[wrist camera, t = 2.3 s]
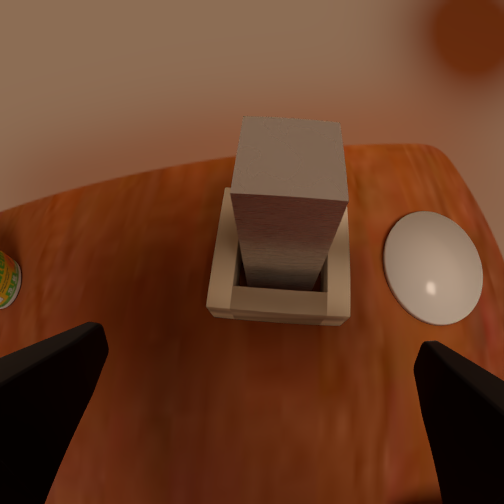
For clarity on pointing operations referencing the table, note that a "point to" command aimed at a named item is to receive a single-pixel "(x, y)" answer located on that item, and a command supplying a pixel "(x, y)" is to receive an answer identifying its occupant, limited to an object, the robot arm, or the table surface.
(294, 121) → the steel peg
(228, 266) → the collar
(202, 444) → the table surface
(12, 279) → the supplement bottle
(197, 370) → the table surface
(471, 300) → the coaster
